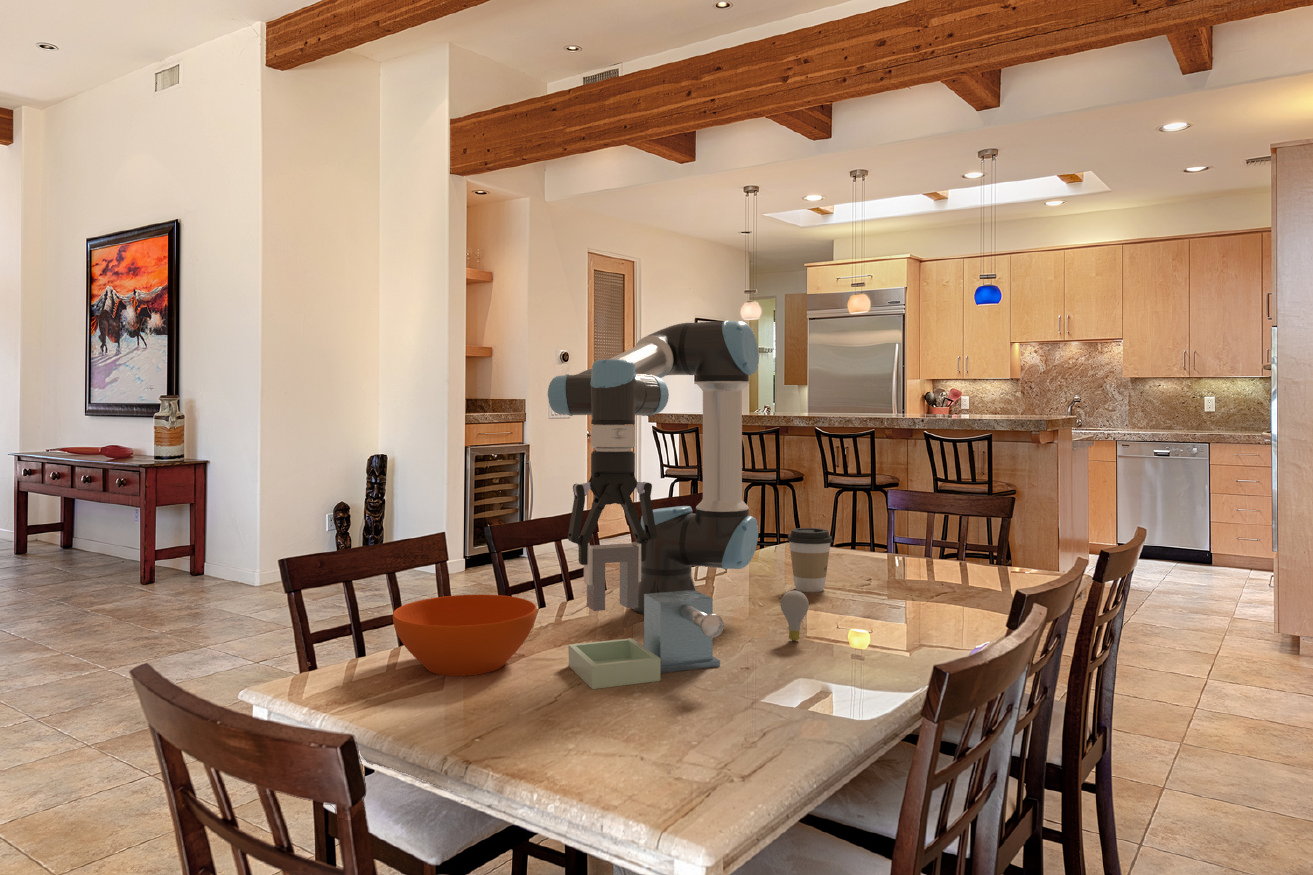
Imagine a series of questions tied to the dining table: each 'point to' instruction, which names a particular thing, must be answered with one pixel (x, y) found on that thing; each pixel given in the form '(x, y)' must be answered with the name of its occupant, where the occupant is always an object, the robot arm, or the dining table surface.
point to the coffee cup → (809, 558)
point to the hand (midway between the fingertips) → (612, 581)
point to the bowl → (464, 631)
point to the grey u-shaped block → (628, 574)
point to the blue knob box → (681, 629)
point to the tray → (614, 663)
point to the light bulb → (794, 611)
